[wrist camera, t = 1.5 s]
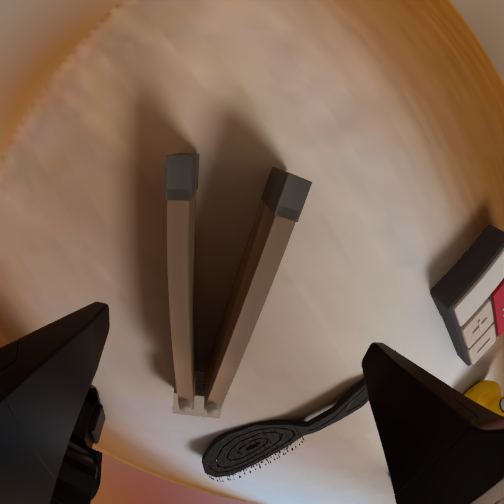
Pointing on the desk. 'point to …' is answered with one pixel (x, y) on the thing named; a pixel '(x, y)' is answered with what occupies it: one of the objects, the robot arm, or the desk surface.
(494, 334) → the calculator
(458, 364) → the desk surface
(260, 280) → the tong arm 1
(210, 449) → the hairbrush
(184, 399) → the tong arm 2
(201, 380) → the tong hinge block
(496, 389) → the duckling
